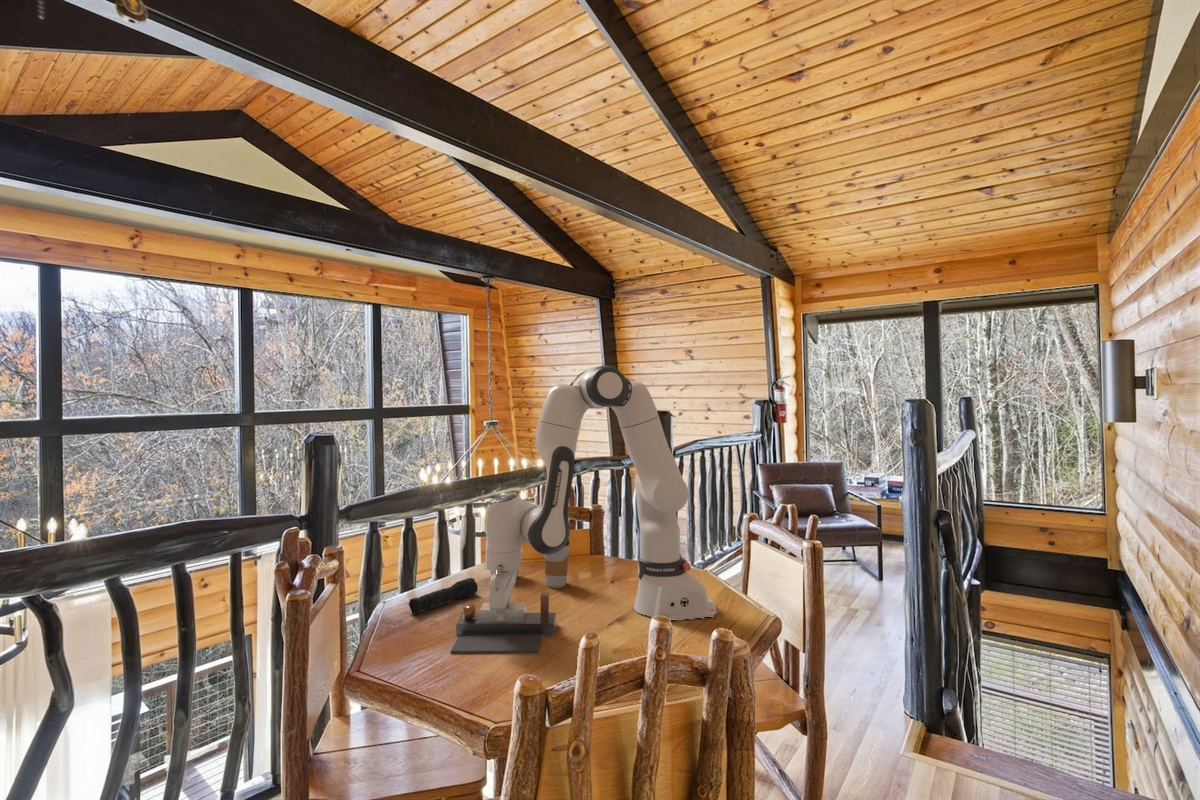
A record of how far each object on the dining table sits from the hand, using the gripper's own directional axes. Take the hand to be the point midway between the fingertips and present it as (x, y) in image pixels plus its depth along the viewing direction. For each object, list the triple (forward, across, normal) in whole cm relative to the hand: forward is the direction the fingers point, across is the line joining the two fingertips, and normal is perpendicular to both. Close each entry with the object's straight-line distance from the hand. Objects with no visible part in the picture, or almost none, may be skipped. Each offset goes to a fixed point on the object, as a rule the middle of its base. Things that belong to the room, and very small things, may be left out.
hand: (503, 614), depth 145 cm
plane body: (+4, 0, -1) cm, 4 cm away
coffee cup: (+4, +34, -11) cm, 36 cm away
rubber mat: (+4, -9, 0) cm, 10 cm away
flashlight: (+4, +18, +20) cm, 27 cm away
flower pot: (+4, +41, +5) cm, 42 cm away
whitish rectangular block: (+1, 0, 0) cm, 1 cm away
